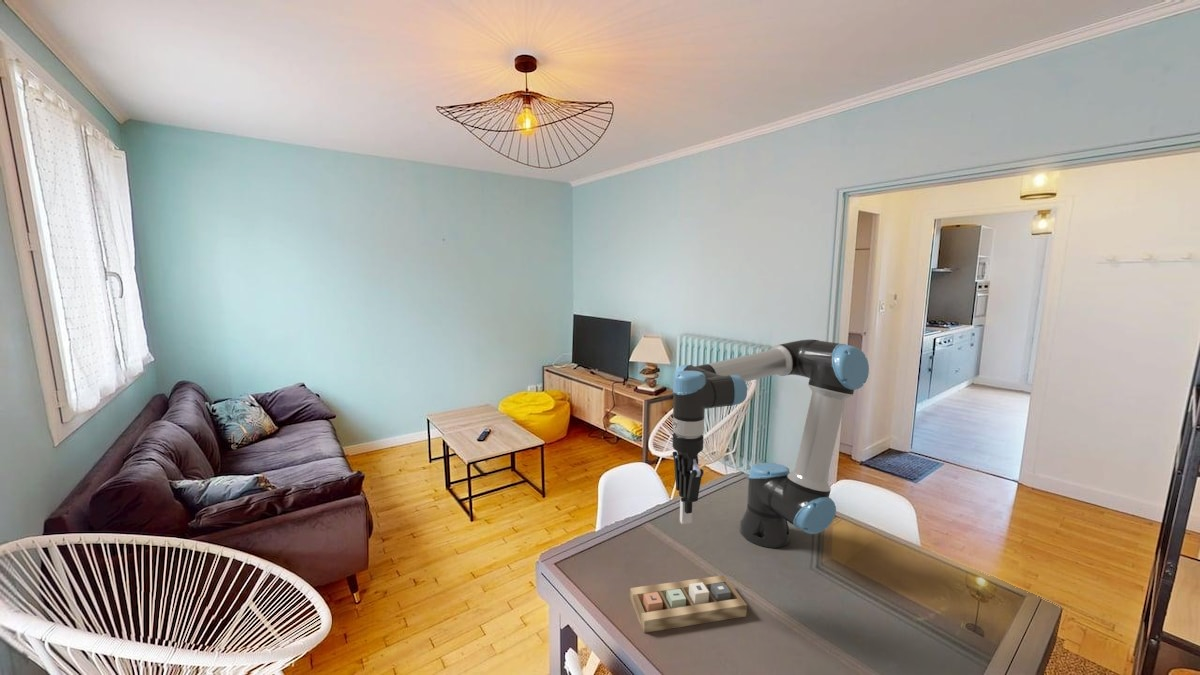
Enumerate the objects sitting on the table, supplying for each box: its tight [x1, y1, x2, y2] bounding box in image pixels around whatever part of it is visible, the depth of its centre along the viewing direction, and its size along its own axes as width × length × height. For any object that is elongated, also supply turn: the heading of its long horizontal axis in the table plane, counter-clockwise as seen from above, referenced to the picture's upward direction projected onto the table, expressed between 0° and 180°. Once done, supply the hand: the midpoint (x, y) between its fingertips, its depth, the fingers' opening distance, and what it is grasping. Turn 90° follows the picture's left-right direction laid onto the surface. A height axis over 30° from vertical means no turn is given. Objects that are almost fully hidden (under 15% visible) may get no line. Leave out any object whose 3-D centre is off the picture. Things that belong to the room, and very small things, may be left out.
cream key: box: [689, 582, 709, 605], centre depth 109 cm, size 4×4×3 cm
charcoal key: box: [710, 582, 731, 602], centre depth 111 cm, size 4×4×3 cm
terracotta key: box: [642, 592, 663, 612], centre depth 107 cm, size 4×4×3 cm
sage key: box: [666, 589, 686, 609], centre depth 108 cm, size 4×4×3 cm
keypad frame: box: [629, 574, 748, 634], centre depth 109 cm, size 26×11×3 cm, turn 103°
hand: (685, 522), depth 113 cm, fingers closed
